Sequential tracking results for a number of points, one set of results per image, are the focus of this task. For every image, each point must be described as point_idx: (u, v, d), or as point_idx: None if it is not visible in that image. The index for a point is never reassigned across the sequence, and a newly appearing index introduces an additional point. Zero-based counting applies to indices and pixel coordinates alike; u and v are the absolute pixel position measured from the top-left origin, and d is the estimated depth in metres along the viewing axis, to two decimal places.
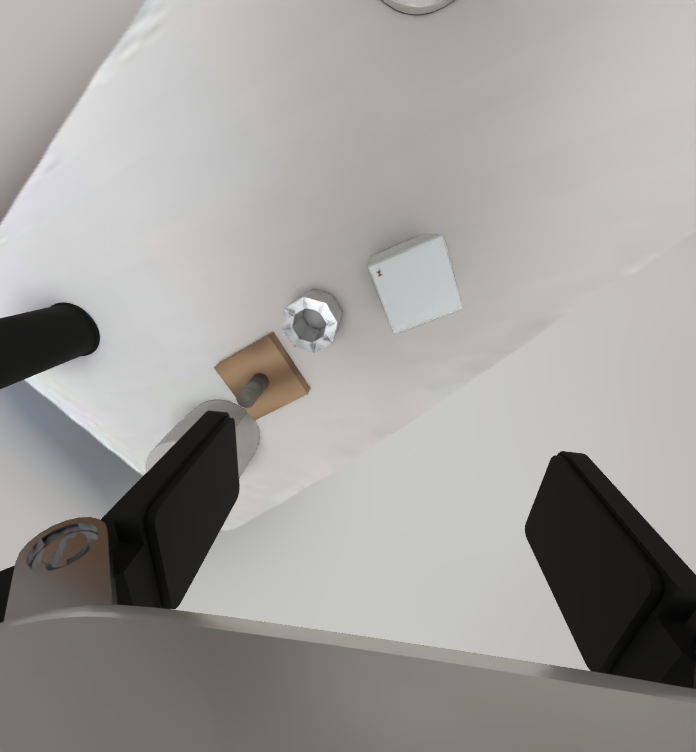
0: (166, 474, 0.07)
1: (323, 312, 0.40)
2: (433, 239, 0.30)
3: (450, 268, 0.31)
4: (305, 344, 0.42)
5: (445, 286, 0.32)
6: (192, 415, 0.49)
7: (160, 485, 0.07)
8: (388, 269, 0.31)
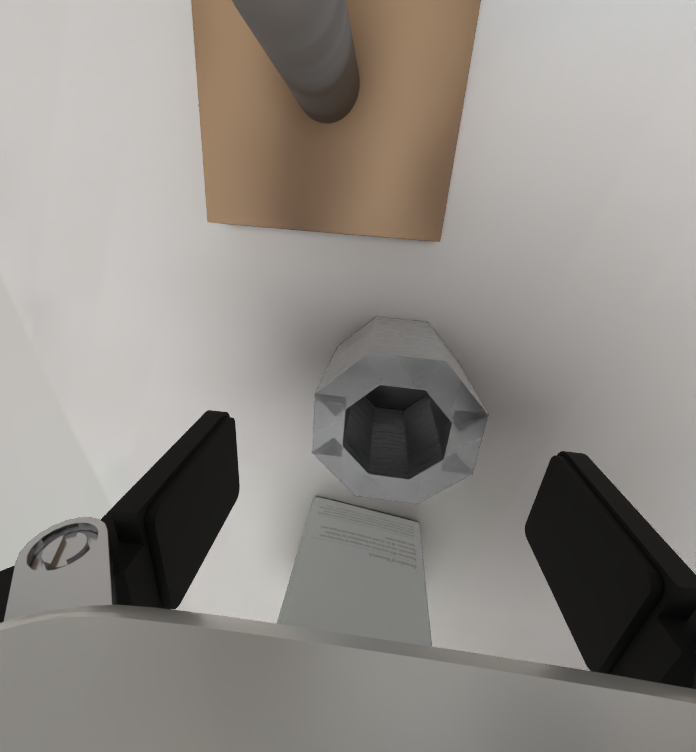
0: (166, 474, 0.07)
1: (400, 486, 0.14)
2: None
3: None
4: (352, 389, 0.12)
5: None
6: None
7: (160, 486, 0.07)
8: None
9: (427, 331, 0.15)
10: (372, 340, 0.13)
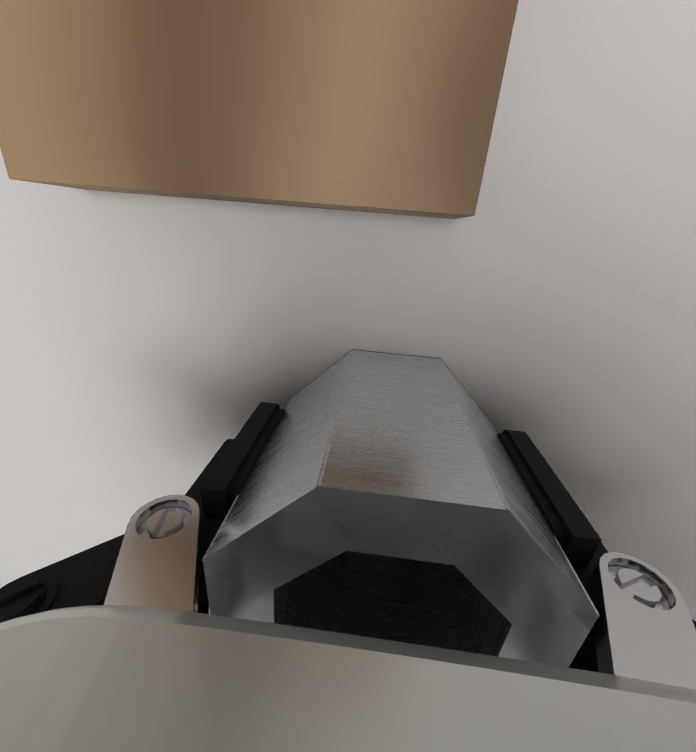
0: (240, 458, 0.08)
1: None
2: None
3: None
4: (284, 555, 0.05)
5: None
6: None
7: (238, 468, 0.07)
8: None
9: (444, 386, 0.08)
10: (334, 428, 0.06)
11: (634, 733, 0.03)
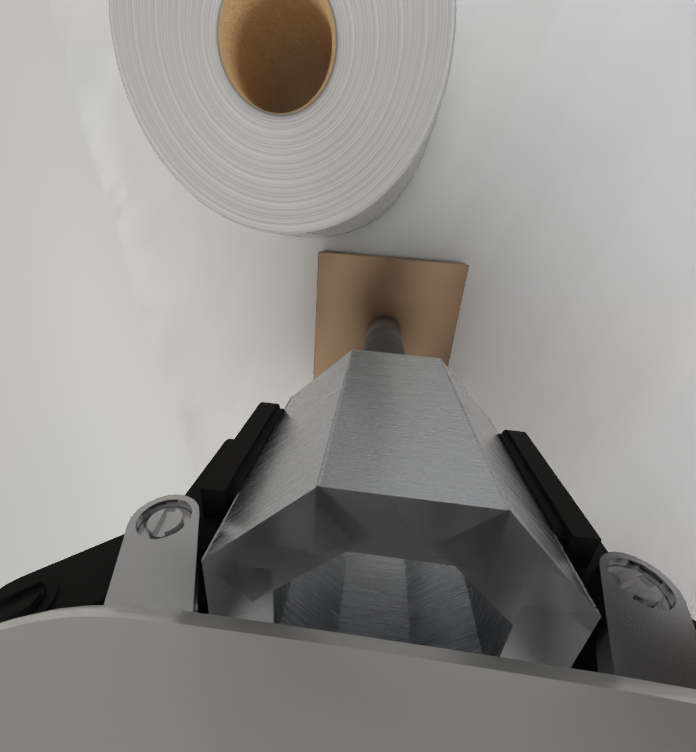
0: (240, 458, 0.08)
1: None
2: None
3: None
4: (284, 556, 0.05)
5: None
6: None
7: (238, 467, 0.07)
8: None
9: (445, 386, 0.08)
10: (334, 428, 0.06)
11: (634, 733, 0.03)
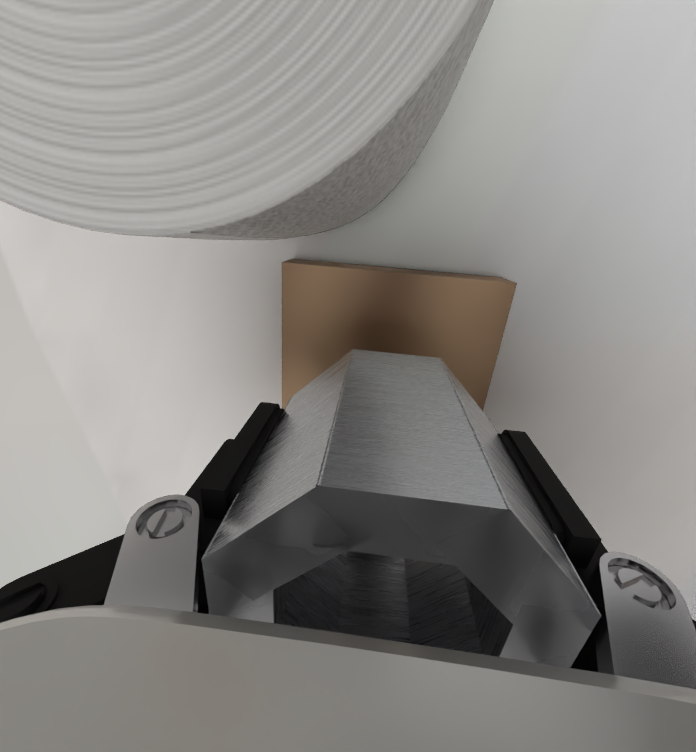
0: (240, 458, 0.08)
1: None
2: None
3: None
4: (284, 555, 0.05)
5: None
6: None
7: (238, 468, 0.07)
8: None
9: (445, 386, 0.08)
10: (334, 427, 0.06)
11: (634, 733, 0.03)
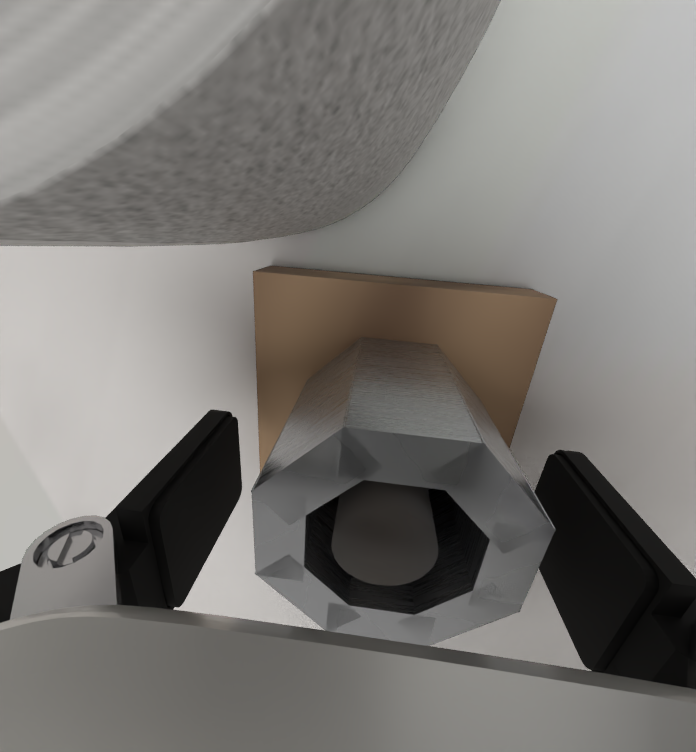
0: (170, 473, 0.07)
1: (400, 622, 0.09)
2: None
3: None
4: (315, 485, 0.07)
5: None
6: None
7: (165, 484, 0.07)
8: None
9: (440, 365, 0.10)
10: (352, 392, 0.08)
11: (634, 733, 0.03)
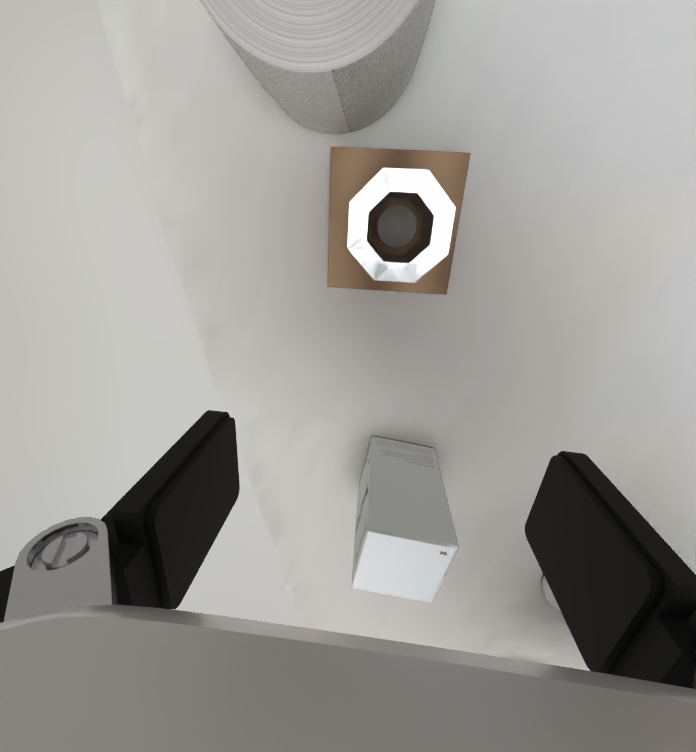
0: (166, 474, 0.07)
1: (403, 269, 0.22)
2: (434, 596, 0.28)
3: (398, 596, 0.29)
4: (372, 196, 0.20)
5: (384, 587, 0.28)
6: None
7: (160, 485, 0.07)
8: (439, 561, 0.26)
9: None
10: None
11: (634, 733, 0.03)
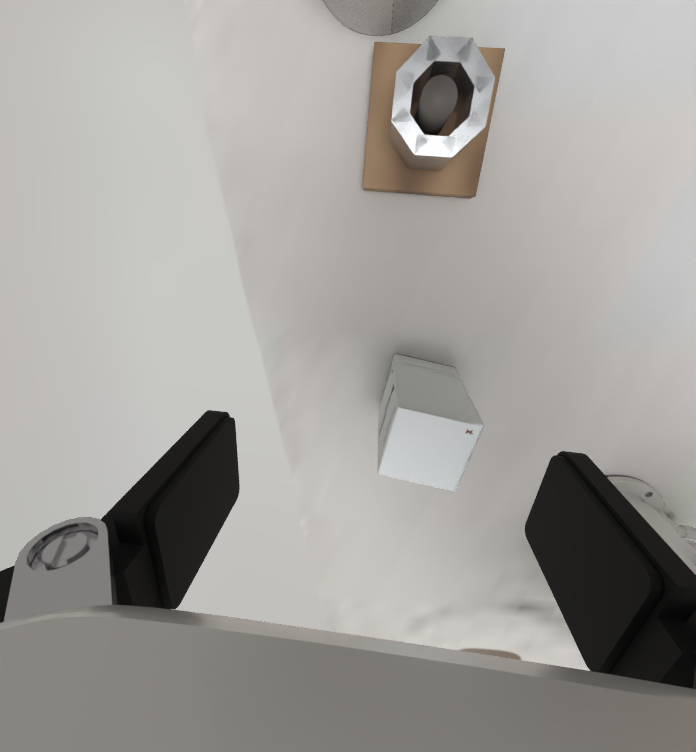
0: (166, 474, 0.07)
1: (442, 142, 0.24)
2: (457, 484, 0.30)
3: (422, 483, 0.30)
4: (418, 65, 0.22)
5: (409, 473, 0.29)
6: None
7: (161, 486, 0.07)
8: (465, 441, 0.28)
9: None
10: None
11: (634, 733, 0.03)
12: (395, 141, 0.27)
